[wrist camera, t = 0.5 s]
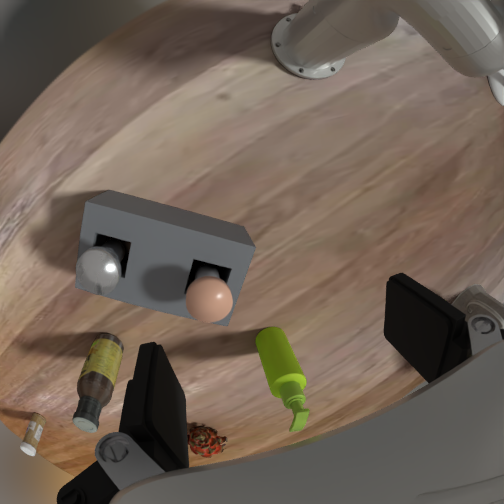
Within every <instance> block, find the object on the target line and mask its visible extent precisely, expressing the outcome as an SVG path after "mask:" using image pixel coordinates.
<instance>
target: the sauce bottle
mask: <svg viewBox="0 0 504 504" xmlns="http://www.w3.org/2000/svg"><path fill="white" fill-rule="evenodd" d="M123 349H124V348H123V344H122V343H121V341H120V340H119V339H118V338H117V337H115V336H113V335H111V334H105V333H104V334H101V335H99V336H97V338H96V339H95V341H94V342H93V344H92V346H91V348H90V351H89V353H88V356H87V358H86V361H85V363H84V366H83V368H82V371H81V374H80V377H79V379H78V383H77V392H78V395H79V398H80V400H79V403H78V407H77V410H76V412H75V413H74V415H73V423H74V424H75V425H76V426H77V427H78V428H79V429H81V430H83V431H86V432H90V433H93V432H96V431H97V429H98V426H99V421H98V420H99V416H100V413H101V409H102V408H103V407H104V406H106V405H107V404H108V403H109V402H110V400H111V397H112V392H113V391H114V387H115V383H116V379H117V375H118V371H119V367H120V364H121V360H122V353H123Z"/></svg>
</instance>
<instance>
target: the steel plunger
mask: <svg viewBox="0 0 504 504" xmlns="http://www.w3.org/2000/svg"><path fill="white" fill-rule="evenodd" d="M124 255H125V248H124V245H123V244H122V243H121V242H120V241H119V240H117V239H109V240H107V241H106V242H105V243H104V244H103V245H102V246H101V247H100V246H96V247H92V248H89V249H88V250H86V251H85V252H84V253H83V254H82V255H81V256H80V258H79V259H78V261H77V264H76V275H77V278H78V280H79V282H80V284H81V285H82V286H83V287H84V288H85V289H86V290H87V291H89V292H91V293H93V294H96V295H105V294H108V293H110V292H111V291H112V290H113V289H114V288H115V287H116V285H117V283H118V281H119V279H120V277H121V265H120V262H121V260H122V259H123V257H124Z"/></svg>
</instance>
